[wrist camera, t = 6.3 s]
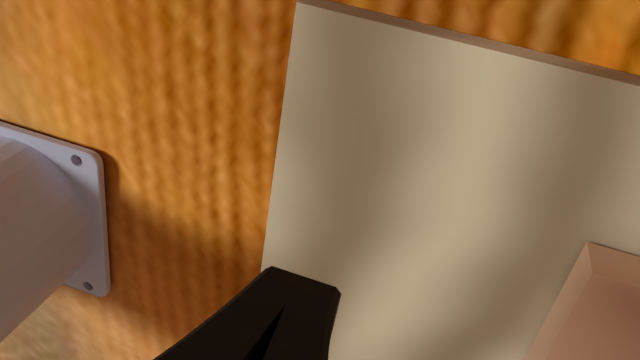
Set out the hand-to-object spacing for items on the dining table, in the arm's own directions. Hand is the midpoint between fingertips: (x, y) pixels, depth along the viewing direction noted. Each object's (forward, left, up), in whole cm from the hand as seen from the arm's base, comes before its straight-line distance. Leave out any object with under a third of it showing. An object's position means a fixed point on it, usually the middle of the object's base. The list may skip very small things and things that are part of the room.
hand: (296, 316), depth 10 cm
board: (+5, -5, -10) cm, 12 cm away
